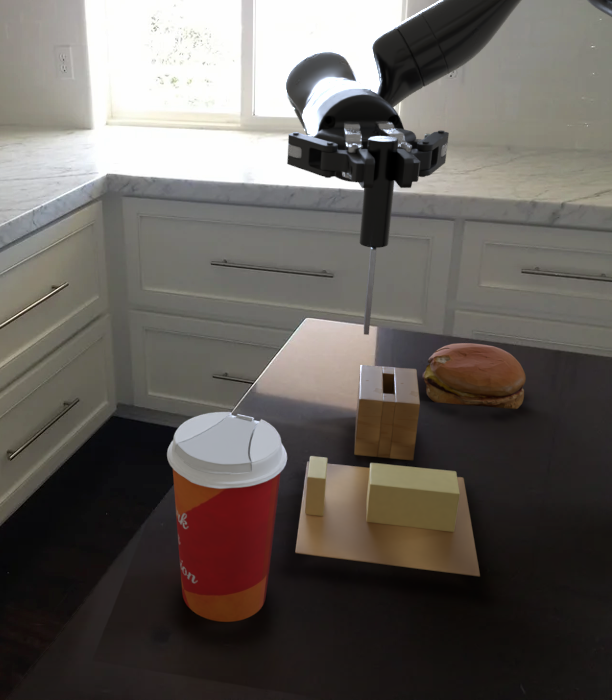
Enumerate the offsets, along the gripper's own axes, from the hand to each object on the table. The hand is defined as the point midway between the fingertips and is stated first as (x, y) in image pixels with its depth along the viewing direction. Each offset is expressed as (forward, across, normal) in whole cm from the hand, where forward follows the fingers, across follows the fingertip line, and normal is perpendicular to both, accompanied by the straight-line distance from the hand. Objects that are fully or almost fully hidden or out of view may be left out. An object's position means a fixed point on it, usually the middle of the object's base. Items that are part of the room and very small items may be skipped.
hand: (388, 174), depth 63 cm
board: (+6, +1, +27) cm, 28 cm away
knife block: (-6, +3, +27) cm, 28 cm away
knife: (-3, 0, +13) cm, 14 cm away
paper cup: (+16, -12, +27) cm, 34 cm away
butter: (+6, +3, +26) cm, 26 cm away
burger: (-17, +14, +27) cm, 35 cm away
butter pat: (+5, -4, +26) cm, 26 cm away
